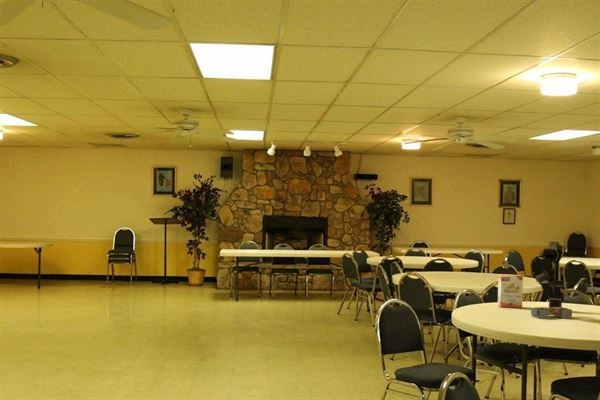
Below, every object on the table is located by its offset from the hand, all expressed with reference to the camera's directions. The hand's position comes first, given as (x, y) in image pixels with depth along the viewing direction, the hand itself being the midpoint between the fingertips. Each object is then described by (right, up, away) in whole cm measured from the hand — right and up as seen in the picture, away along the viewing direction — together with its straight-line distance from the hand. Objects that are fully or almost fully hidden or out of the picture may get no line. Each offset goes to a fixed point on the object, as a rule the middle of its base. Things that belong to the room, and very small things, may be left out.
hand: (549, 296), depth 329 cm
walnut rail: (-1, -10, -5) cm, 11 cm away
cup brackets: (-1, -12, -5) cm, 13 cm away
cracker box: (-12, -13, +30) cm, 35 cm away
